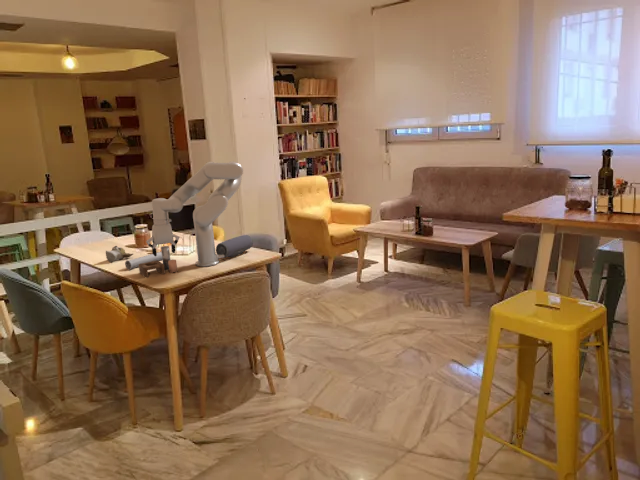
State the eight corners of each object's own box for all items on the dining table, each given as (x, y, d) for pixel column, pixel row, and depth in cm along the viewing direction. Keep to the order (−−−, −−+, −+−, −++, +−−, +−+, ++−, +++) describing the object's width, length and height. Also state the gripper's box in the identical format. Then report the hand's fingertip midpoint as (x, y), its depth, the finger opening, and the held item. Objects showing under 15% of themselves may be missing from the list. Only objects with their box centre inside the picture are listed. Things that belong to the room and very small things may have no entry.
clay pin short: (176, 270, 266) (174, 259, 265) (178, 271, 263) (177, 260, 261) (168, 271, 264) (167, 260, 262) (171, 273, 261) (169, 262, 259)
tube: (161, 251, 293) (123, 261, 273) (166, 249, 290) (129, 259, 270) (164, 259, 294) (127, 270, 273) (169, 258, 290) (132, 269, 270)
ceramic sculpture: (99, 247, 289) (121, 242, 301) (100, 262, 290) (122, 257, 303) (112, 248, 283) (133, 244, 296) (113, 264, 285) (134, 258, 298)
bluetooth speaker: (241, 249, 302) (240, 233, 300) (254, 251, 297) (253, 234, 295) (215, 259, 283) (214, 241, 281) (228, 260, 278) (227, 243, 276)
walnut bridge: (158, 269, 269) (157, 260, 268) (164, 273, 261) (163, 264, 260) (139, 273, 264) (138, 264, 262) (145, 277, 255) (144, 268, 254)
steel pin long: (170, 267, 272) (167, 245, 269) (172, 268, 269) (169, 246, 266) (162, 268, 270) (159, 246, 267) (165, 270, 267) (162, 248, 264)
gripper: (175, 219, 271) (178, 250, 275) (142, 223, 262) (145, 255, 266) (180, 221, 265) (182, 252, 269) (146, 225, 256) (149, 258, 260)
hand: (164, 254), depth 267 cm, fingers open, 9 cm apart
